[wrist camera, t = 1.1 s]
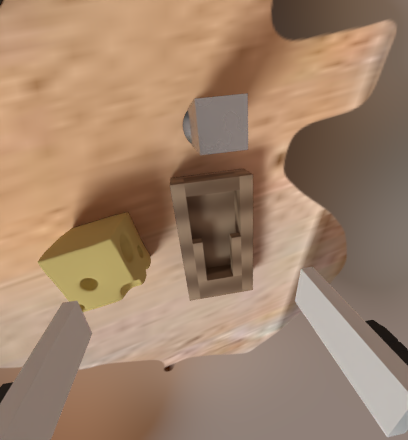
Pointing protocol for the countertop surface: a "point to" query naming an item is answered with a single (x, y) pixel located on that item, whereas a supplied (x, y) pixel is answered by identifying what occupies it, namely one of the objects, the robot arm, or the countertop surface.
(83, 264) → the cheese
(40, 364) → the robot arm
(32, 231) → the countertop surface
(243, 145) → the peg
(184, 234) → the keyhole plate
